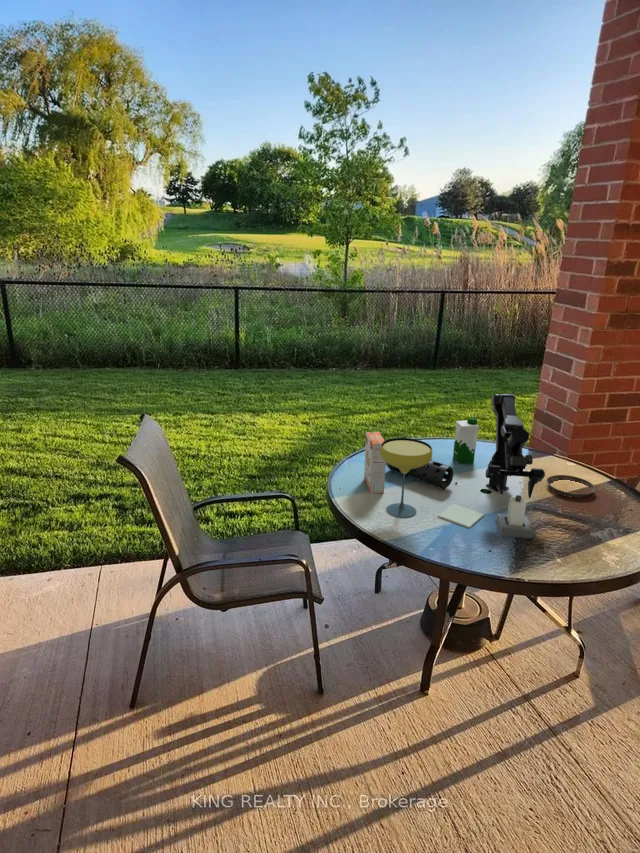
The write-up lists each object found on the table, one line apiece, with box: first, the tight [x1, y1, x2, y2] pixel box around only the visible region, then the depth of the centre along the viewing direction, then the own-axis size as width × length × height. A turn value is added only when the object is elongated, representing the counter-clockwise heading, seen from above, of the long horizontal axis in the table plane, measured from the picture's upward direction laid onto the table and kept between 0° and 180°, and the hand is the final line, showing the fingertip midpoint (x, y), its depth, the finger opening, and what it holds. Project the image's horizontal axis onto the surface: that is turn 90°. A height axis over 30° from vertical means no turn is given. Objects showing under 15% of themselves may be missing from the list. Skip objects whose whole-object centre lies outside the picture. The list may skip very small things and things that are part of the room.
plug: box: [506, 494, 527, 527], centre depth 176 cm, size 4×4×12 cm
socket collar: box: [495, 512, 534, 539], centre depth 177 cm, size 10×10×3 cm
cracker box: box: [363, 431, 386, 494], centre depth 205 cm, size 14×6×21 cm, turn 5°
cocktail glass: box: [380, 437, 433, 519], centre depth 185 cm, size 18×18×25 cm
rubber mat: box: [437, 503, 485, 529], centre depth 186 cm, size 12×12×1 cm
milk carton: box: [452, 416, 480, 465], centre depth 233 cm, size 9×9×20 cm
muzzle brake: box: [385, 459, 455, 490], centre depth 214 cm, size 10×28×10 cm, turn 46°
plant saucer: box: [546, 474, 596, 498], centre depth 209 cm, size 18×18×3 cm
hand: (515, 496), depth 178 cm, fingers open, 9 cm apart
